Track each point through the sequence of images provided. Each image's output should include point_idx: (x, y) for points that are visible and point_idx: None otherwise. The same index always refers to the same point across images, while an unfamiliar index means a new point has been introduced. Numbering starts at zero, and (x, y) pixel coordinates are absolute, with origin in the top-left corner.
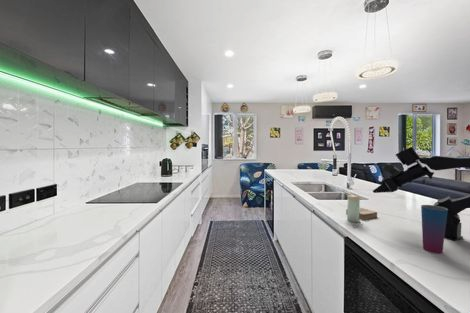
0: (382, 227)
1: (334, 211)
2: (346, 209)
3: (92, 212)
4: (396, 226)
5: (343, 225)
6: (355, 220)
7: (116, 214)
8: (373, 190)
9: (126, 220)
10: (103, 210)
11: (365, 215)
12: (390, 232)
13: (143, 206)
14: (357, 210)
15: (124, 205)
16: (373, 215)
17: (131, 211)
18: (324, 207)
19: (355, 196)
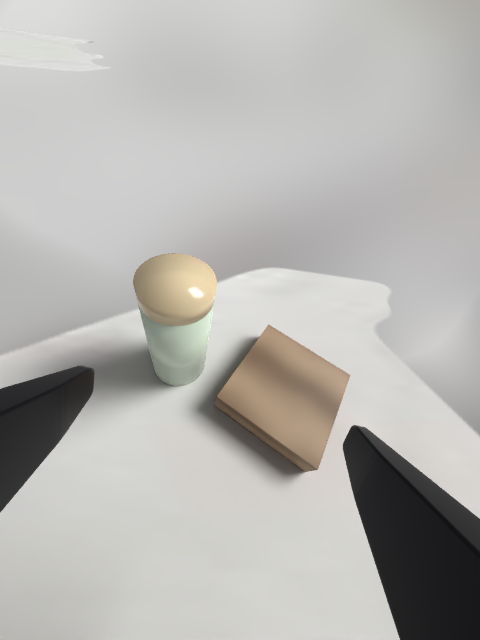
0: (104, 507)
1: (271, 299)
2: (268, 325)
3: (43, 44)
4: (162, 612)
5: (80, 329)
6: (154, 368)
7: (40, 54)
8: (69, 370)
9: (8, 59)
10: (58, 48)
11: (227, 406)
12: (4, 565)
13: (99, 67)
14: (152, 351)
15: (95, 57)
16: (281, 449)
17: (63, 61)
18: (301, 272)
19: (160, 288)
